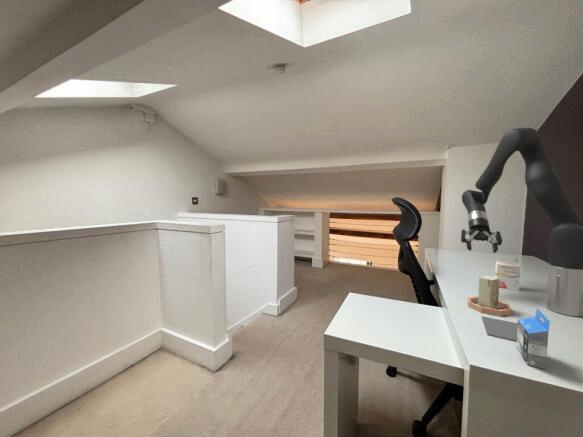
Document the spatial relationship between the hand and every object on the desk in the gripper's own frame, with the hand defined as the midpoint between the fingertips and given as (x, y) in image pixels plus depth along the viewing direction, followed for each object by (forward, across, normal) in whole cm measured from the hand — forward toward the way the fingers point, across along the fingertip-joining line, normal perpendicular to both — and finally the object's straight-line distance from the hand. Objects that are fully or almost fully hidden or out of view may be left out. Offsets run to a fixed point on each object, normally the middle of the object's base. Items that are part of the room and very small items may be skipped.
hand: (482, 250), depth 103 cm
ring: (+23, 0, +6) cm, 24 cm away
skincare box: (+23, 0, +6) cm, 24 cm away
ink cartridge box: (0, +15, +30) cm, 33 cm away
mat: (+36, +2, -7) cm, 37 cm away
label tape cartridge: (+47, +2, -18) cm, 50 cm away
